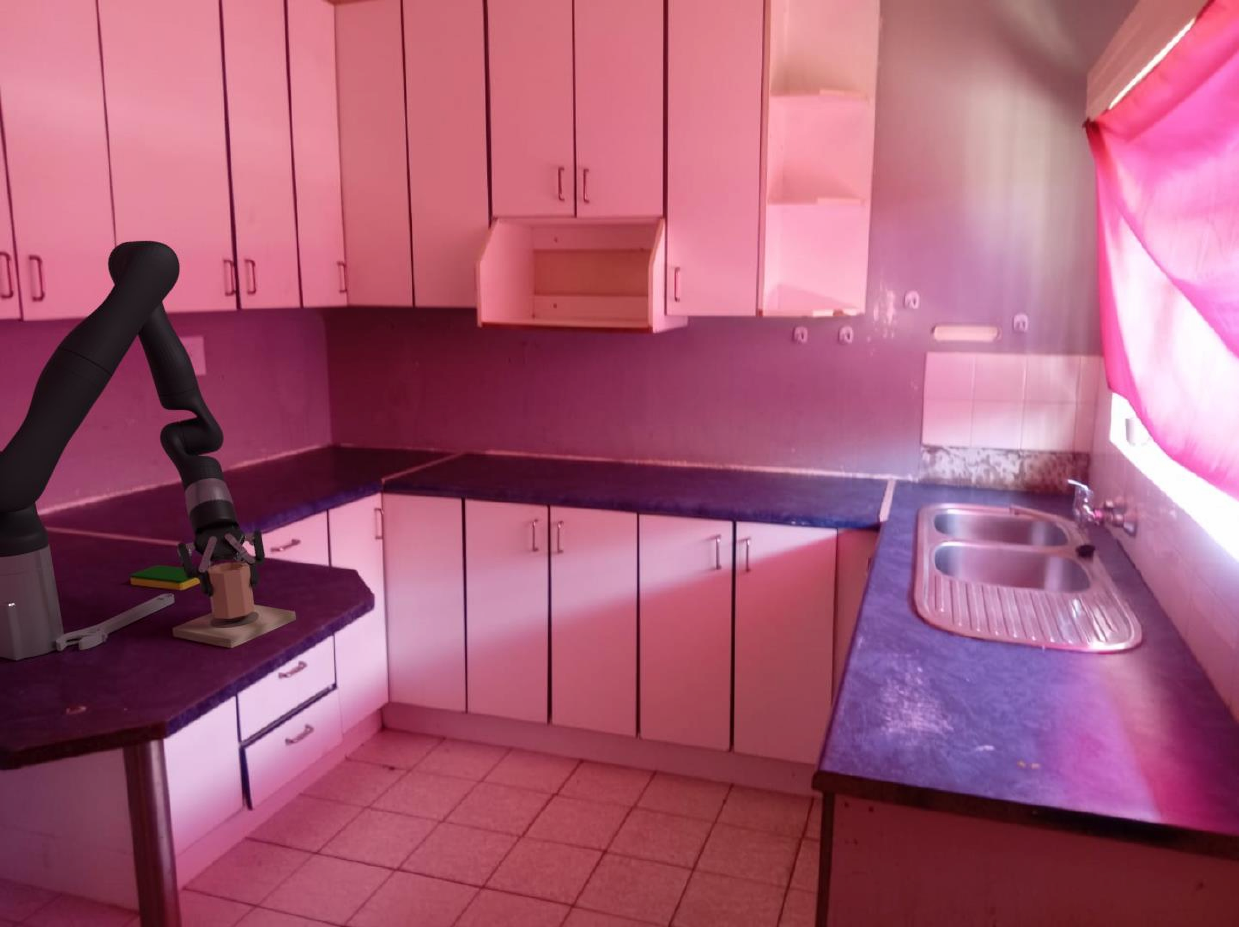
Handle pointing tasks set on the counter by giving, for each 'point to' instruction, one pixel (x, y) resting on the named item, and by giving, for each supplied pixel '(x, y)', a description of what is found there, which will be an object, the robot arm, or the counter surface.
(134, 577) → the dish sponge
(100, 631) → the adjustable wrench
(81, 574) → the counter surface
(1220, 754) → the counter surface
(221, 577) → the collar
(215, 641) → the post stand
